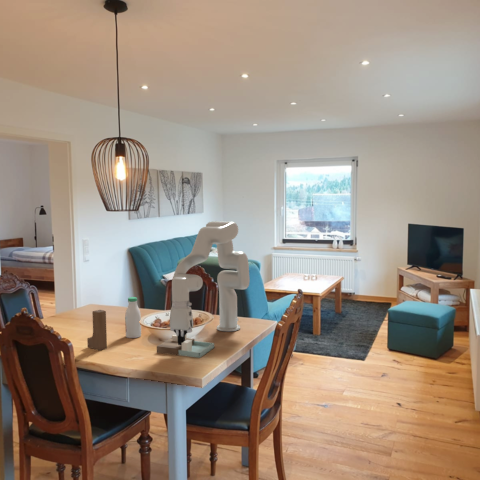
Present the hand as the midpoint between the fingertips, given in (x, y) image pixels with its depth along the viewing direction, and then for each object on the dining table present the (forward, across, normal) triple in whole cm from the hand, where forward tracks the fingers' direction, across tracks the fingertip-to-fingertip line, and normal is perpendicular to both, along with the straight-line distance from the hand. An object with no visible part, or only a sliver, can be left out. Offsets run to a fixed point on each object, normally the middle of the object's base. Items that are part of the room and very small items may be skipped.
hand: (181, 344), depth 207 cm
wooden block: (+4, +40, +8) cm, 42 cm away
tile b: (+1, -2, 0) cm, 2 cm away
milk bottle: (+4, +36, -14) cm, 38 cm away
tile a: (+1, +6, -8) cm, 10 cm away
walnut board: (+4, +5, -4) cm, 8 cm away
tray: (+4, -6, -4) cm, 8 cm away
